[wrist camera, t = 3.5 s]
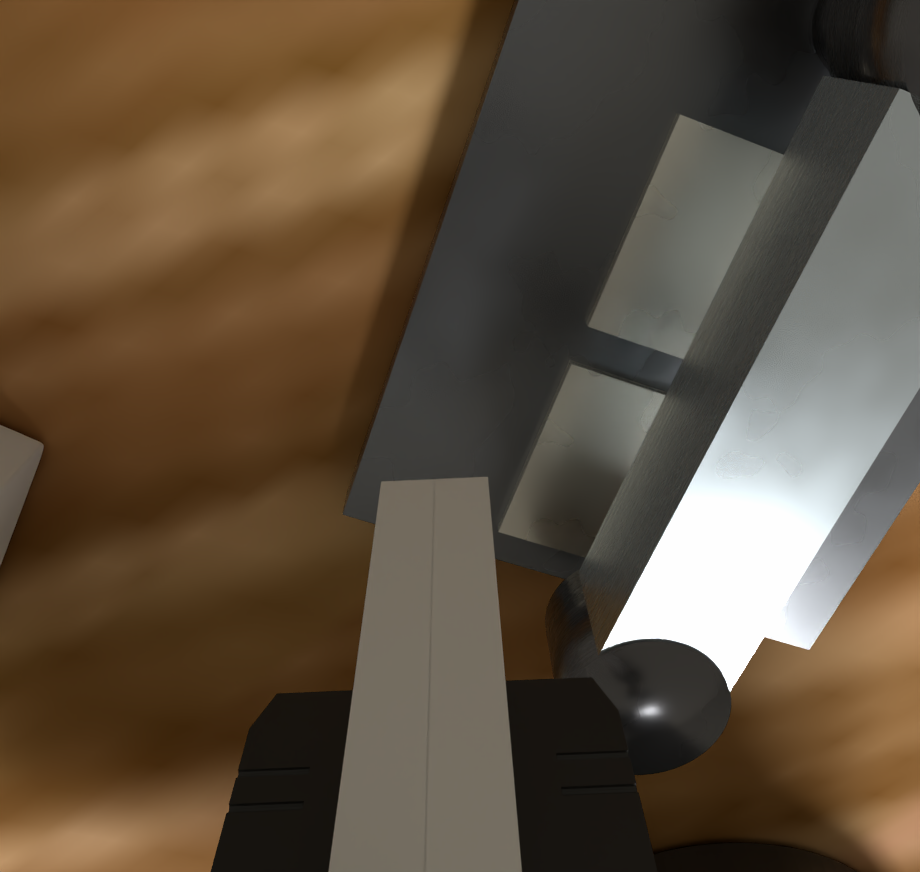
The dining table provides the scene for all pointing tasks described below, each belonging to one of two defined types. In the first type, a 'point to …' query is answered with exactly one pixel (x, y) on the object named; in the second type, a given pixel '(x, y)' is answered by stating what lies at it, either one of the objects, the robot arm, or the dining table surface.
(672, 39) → the plate
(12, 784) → the dining table surface
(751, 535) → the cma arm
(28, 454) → the milk carton
